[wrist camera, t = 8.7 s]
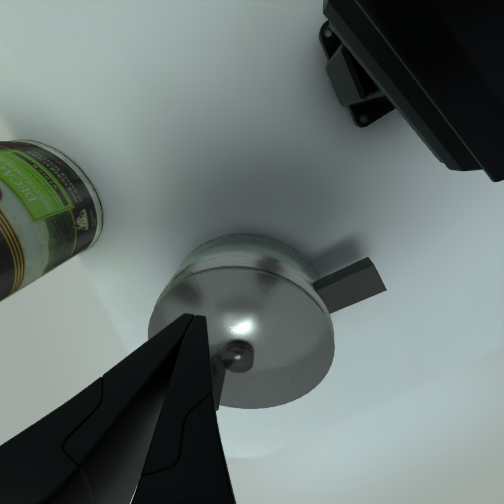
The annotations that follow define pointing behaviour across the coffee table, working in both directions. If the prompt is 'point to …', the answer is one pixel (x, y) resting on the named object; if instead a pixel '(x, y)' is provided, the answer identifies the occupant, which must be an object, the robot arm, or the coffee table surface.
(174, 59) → the coffee table surface
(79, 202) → the coffee can
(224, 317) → the lid
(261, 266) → the pot
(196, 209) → the coffee table surface
